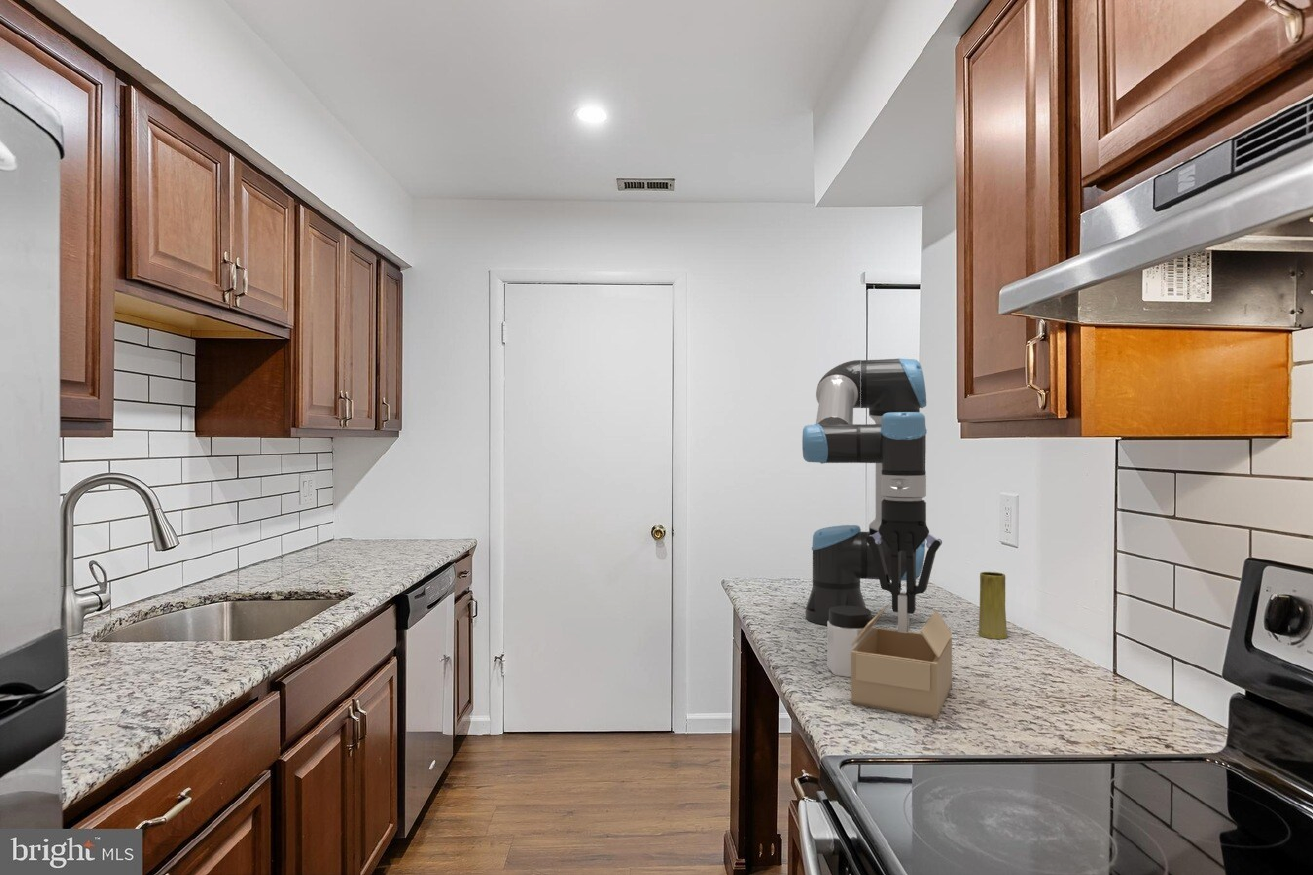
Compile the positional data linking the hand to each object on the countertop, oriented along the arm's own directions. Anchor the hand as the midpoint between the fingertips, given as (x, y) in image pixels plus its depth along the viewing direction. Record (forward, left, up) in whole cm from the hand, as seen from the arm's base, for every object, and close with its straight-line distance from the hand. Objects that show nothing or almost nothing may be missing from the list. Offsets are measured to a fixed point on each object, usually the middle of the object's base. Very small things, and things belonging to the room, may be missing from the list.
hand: (903, 630), depth 130 cm
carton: (0, 0, -11) cm, 11 cm away
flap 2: (0, +5, 0) cm, 5 cm away
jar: (-9, -12, -12) cm, 18 cm away
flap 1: (0, -6, 0) cm, 6 cm away
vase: (-49, +10, -12) cm, 52 cm away
